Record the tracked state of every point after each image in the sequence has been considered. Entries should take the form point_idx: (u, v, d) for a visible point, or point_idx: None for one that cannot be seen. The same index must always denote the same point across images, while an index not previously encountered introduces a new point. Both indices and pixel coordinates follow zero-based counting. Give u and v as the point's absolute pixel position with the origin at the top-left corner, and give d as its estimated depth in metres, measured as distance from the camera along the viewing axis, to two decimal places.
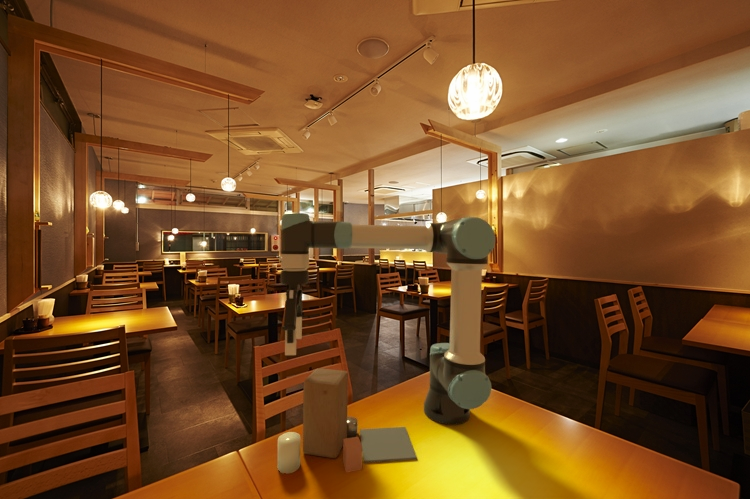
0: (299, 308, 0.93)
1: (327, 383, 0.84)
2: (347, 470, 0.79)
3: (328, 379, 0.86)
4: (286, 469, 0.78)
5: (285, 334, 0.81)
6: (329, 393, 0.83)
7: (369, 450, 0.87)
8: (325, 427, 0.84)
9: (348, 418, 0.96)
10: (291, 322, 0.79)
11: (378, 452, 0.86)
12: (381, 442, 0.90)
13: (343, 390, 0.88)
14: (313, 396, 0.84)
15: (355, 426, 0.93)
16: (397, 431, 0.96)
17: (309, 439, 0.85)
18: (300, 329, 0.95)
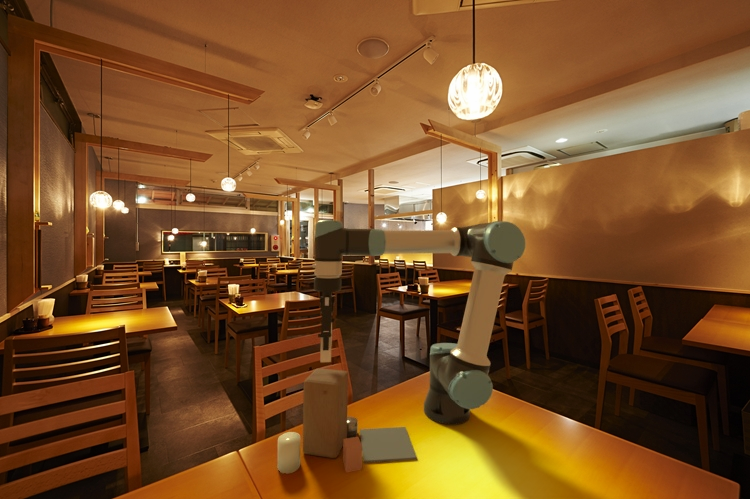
0: None
1: (327, 383, 0.84)
2: (347, 470, 0.79)
3: (328, 379, 0.86)
4: (286, 469, 0.78)
5: None
6: (329, 393, 0.83)
7: (369, 450, 0.87)
8: (325, 427, 0.84)
9: (348, 418, 0.96)
10: (328, 329, 0.79)
11: (378, 452, 0.86)
12: (381, 442, 0.90)
13: (343, 390, 0.88)
14: (313, 396, 0.84)
15: (355, 426, 0.93)
16: (397, 431, 0.96)
17: (309, 439, 0.85)
18: (330, 335, 0.95)
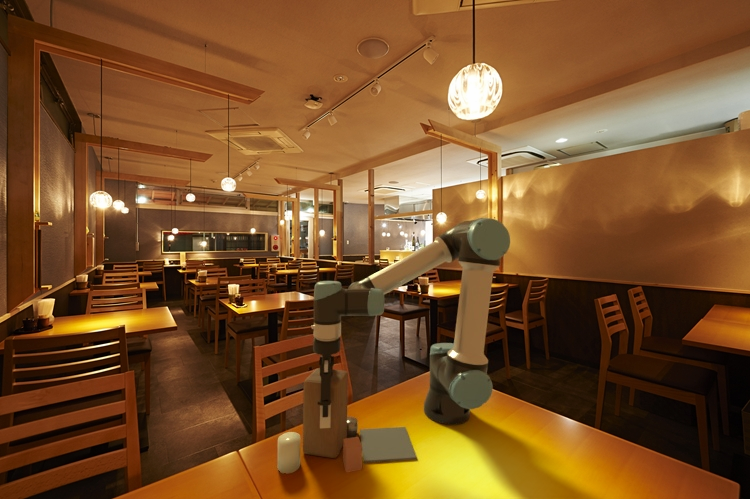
0: None
1: None
2: (347, 470, 0.79)
3: None
4: (286, 469, 0.78)
5: (320, 408, 0.82)
6: None
7: (369, 450, 0.87)
8: None
9: (348, 418, 0.96)
10: (327, 398, 0.80)
11: (378, 452, 0.86)
12: (381, 442, 0.90)
13: (343, 390, 0.88)
14: (313, 396, 0.84)
15: (355, 426, 0.93)
16: (397, 431, 0.96)
17: (309, 439, 0.85)
18: None
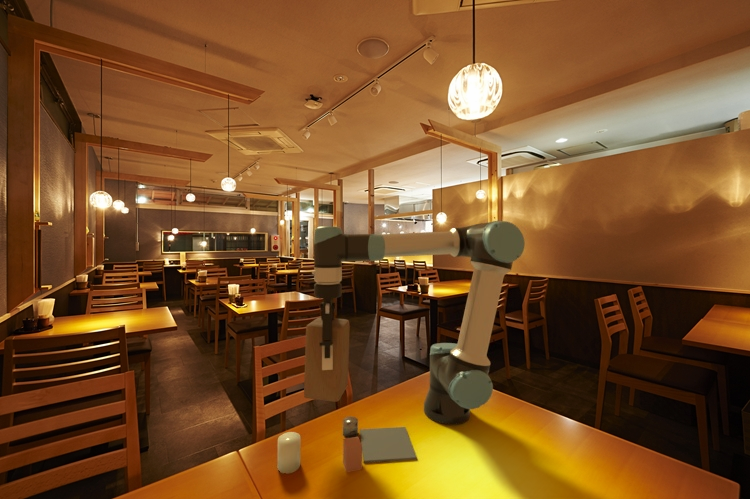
0: None
1: None
2: (347, 470, 0.79)
3: None
4: (286, 469, 0.78)
5: (322, 349, 0.82)
6: (332, 337, 0.83)
7: (369, 450, 0.87)
8: (327, 371, 0.84)
9: (348, 418, 0.96)
10: (329, 338, 0.80)
11: (378, 452, 0.86)
12: (381, 442, 0.90)
13: (346, 336, 0.88)
14: (315, 340, 0.84)
15: (355, 426, 0.94)
16: (397, 431, 0.96)
17: (311, 383, 0.84)
18: None
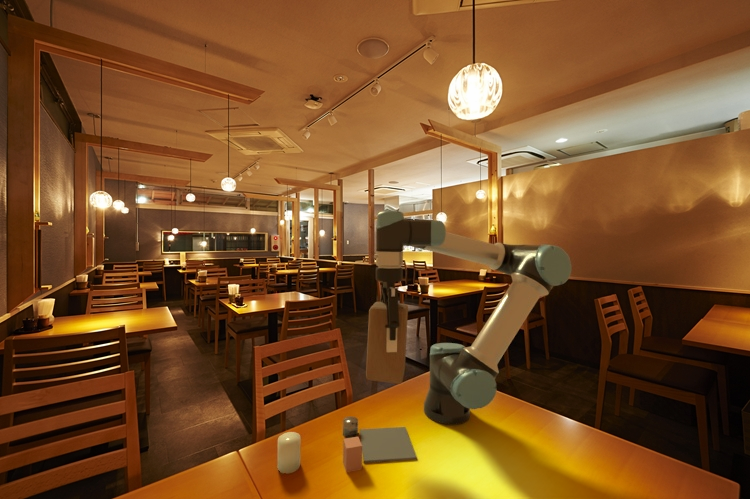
0: None
1: None
2: (347, 470, 0.79)
3: None
4: (286, 469, 0.78)
5: (387, 332, 0.83)
6: None
7: (369, 450, 0.87)
8: (391, 353, 0.84)
9: (348, 418, 0.96)
10: (396, 320, 0.81)
11: (378, 452, 0.86)
12: (381, 442, 0.90)
13: (406, 320, 0.89)
14: (379, 322, 0.85)
15: (355, 426, 0.94)
16: (397, 431, 0.96)
17: (374, 365, 0.85)
18: None
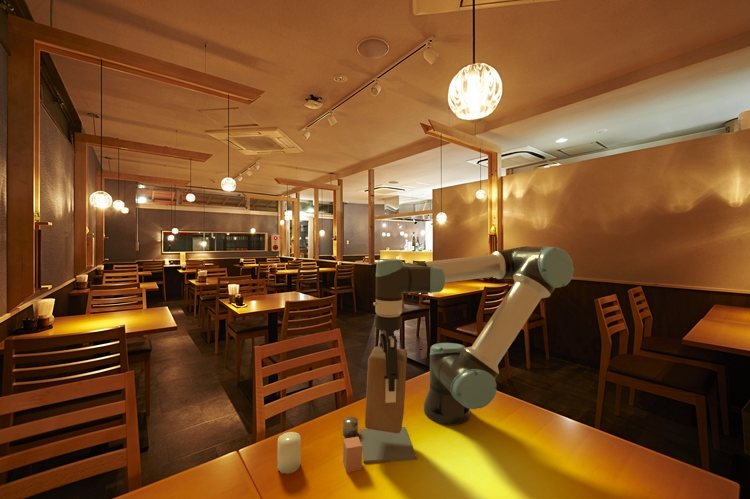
0: None
1: None
2: (347, 470, 0.79)
3: None
4: (286, 469, 0.78)
5: (386, 382, 0.83)
6: None
7: (369, 450, 0.87)
8: (390, 403, 0.85)
9: (348, 418, 0.96)
10: (395, 372, 0.81)
11: (378, 452, 0.86)
12: (381, 442, 0.90)
13: (405, 367, 0.89)
14: (378, 372, 0.85)
15: (355, 426, 0.94)
16: None
17: (373, 414, 0.86)
18: None
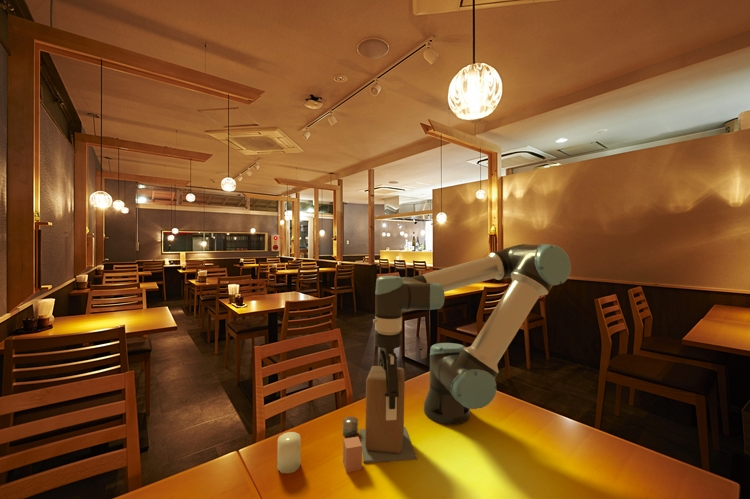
0: None
1: None
2: (347, 470, 0.79)
3: None
4: (286, 469, 0.78)
5: (386, 400, 0.83)
6: None
7: (369, 450, 0.87)
8: (389, 423, 0.85)
9: (348, 418, 0.96)
10: (395, 390, 0.80)
11: (378, 452, 0.86)
12: None
13: None
14: (377, 393, 0.85)
15: (355, 426, 0.94)
16: None
17: (373, 435, 0.86)
18: None
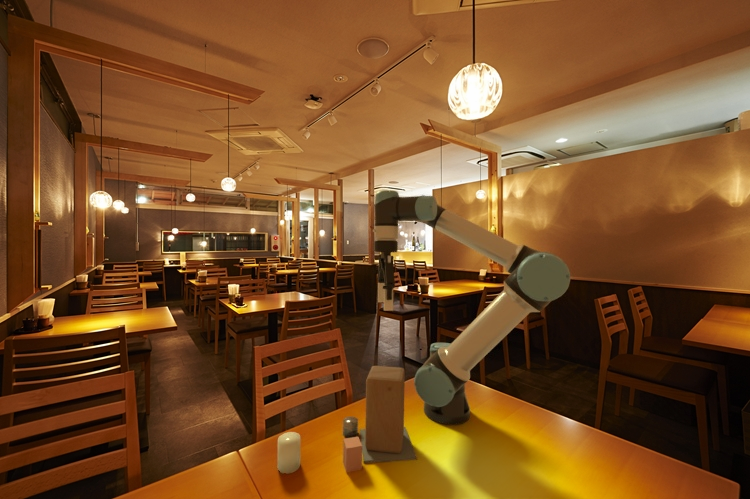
0: None
1: (391, 380, 0.85)
2: (347, 470, 0.79)
3: (390, 376, 0.87)
4: (286, 469, 0.78)
5: (384, 292, 0.95)
6: (393, 390, 0.85)
7: (369, 450, 0.87)
8: (389, 423, 0.85)
9: (348, 418, 0.96)
10: (392, 281, 0.93)
11: (378, 452, 0.86)
12: None
13: None
14: (377, 393, 0.85)
15: (355, 426, 0.94)
16: None
17: (373, 435, 0.86)
18: None
